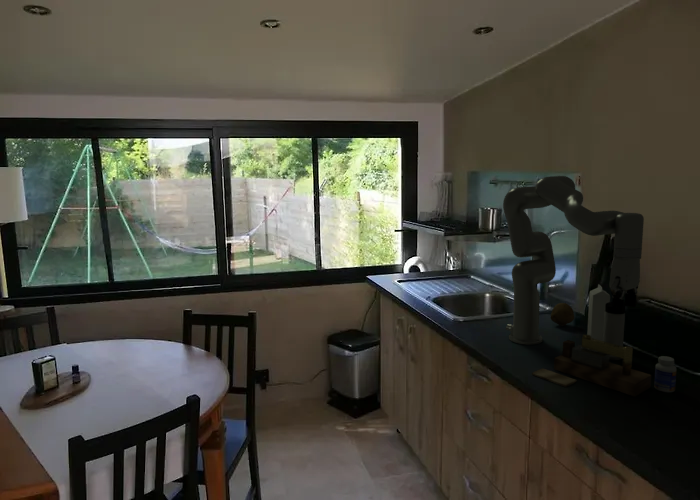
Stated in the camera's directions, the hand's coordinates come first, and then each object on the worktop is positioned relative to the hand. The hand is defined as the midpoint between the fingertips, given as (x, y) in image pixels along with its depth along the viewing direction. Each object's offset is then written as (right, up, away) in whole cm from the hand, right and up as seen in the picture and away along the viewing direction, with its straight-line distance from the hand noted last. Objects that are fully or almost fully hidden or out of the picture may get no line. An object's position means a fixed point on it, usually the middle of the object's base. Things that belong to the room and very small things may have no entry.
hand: (624, 308), depth 154 cm
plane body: (-6, -23, +3) cm, 24 cm away
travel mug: (+7, -20, +20) cm, 29 cm away
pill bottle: (+9, -24, -5) cm, 26 cm away
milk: (+10, -17, +36) cm, 41 cm away
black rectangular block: (-8, -19, +5) cm, 21 cm away
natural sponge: (+4, -14, +54) cm, 56 cm away
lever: (-5, -19, +2) cm, 20 cm away
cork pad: (-20, -23, +4) cm, 31 cm away
